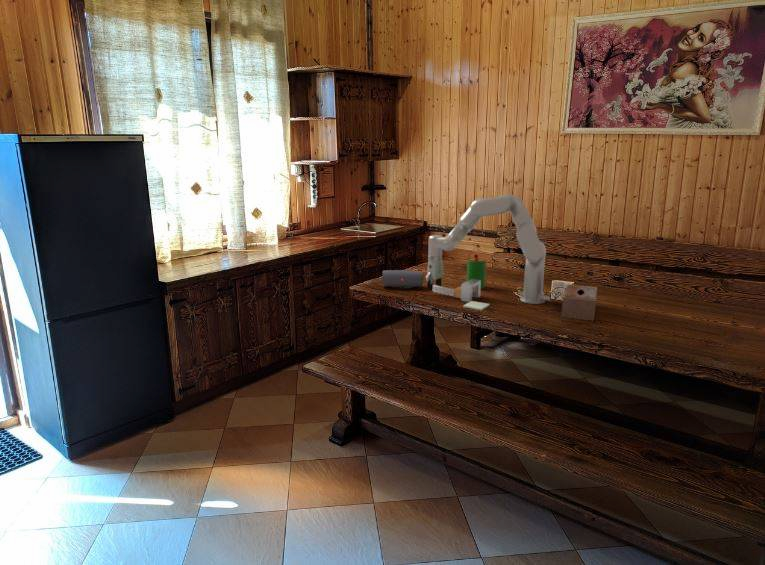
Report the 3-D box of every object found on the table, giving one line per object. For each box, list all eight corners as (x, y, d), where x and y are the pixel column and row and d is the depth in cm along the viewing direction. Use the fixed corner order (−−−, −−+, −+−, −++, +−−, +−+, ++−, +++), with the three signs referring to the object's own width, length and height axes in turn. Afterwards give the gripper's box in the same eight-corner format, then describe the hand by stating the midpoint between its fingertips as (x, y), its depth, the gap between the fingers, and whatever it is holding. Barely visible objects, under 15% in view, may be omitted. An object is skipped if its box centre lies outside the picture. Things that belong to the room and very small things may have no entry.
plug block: (467, 296, 293) (468, 287, 292) (463, 298, 289) (463, 289, 288) (459, 295, 296) (459, 286, 295) (454, 297, 292) (455, 288, 291)
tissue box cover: (593, 321, 254) (595, 301, 252) (561, 317, 260) (563, 297, 257) (595, 306, 277) (597, 287, 275) (565, 303, 283) (567, 284, 280)
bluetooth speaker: (381, 289, 308) (381, 271, 305) (383, 284, 317) (383, 268, 314) (422, 290, 305) (422, 273, 303) (423, 285, 314) (423, 269, 312)
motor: (484, 285, 315) (485, 251, 310) (485, 289, 307) (487, 254, 301) (466, 284, 316) (467, 250, 311) (467, 289, 308) (468, 254, 302)
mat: (489, 305, 278) (489, 304, 277) (481, 310, 270) (481, 309, 269) (471, 302, 283) (471, 300, 283) (463, 307, 275) (463, 305, 275)
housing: (480, 296, 294) (481, 280, 291) (469, 302, 283) (470, 285, 281) (471, 294, 296) (472, 278, 294) (460, 300, 286) (461, 283, 284)
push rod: (456, 296, 294) (456, 289, 294) (453, 297, 293) (454, 290, 292) (434, 291, 304) (434, 284, 303) (431, 292, 303) (431, 285, 302)
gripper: (433, 261, 288) (432, 293, 292) (448, 256, 302) (447, 286, 306) (421, 260, 292) (420, 290, 297) (436, 254, 306) (435, 283, 310)
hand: (434, 288), depth 301 cm, fingers open, 9 cm apart
